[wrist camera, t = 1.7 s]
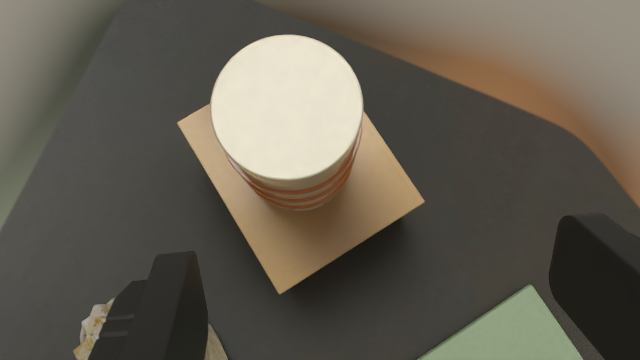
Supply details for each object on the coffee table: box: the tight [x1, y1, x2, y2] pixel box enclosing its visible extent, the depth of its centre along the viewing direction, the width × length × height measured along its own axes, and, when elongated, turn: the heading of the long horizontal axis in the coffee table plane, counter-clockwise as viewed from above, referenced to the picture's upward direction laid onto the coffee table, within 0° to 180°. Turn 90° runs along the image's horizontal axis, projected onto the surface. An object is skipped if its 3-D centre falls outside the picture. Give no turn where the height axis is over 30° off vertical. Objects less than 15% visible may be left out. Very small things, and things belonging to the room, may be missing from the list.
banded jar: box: [210, 35, 363, 211], centre depth 24 cm, size 6×6×10 cm
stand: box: [177, 103, 425, 295], centre depth 32 cm, size 10×12×8 cm
